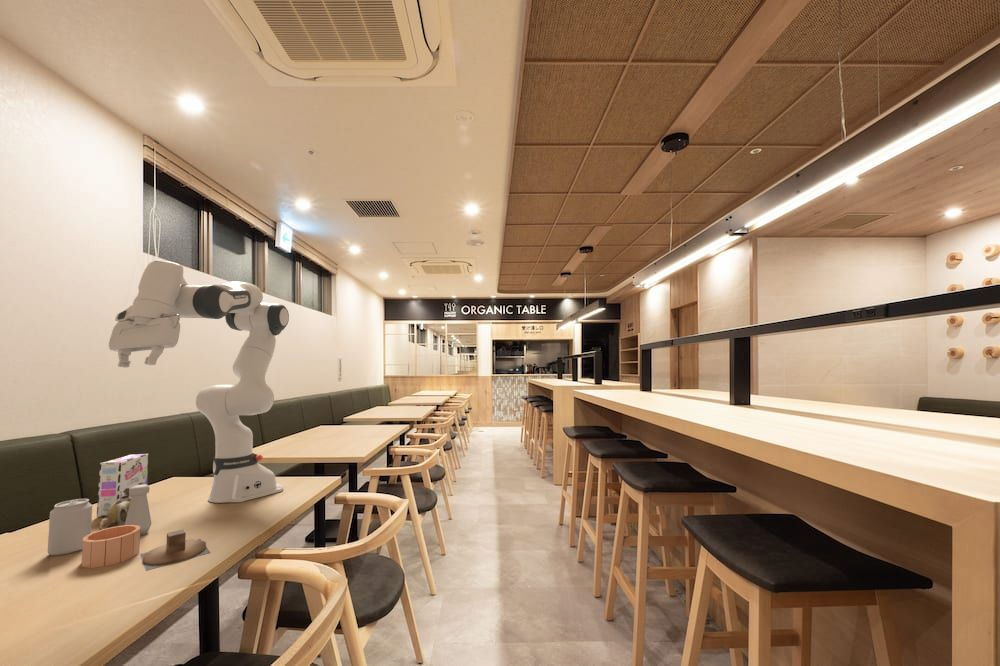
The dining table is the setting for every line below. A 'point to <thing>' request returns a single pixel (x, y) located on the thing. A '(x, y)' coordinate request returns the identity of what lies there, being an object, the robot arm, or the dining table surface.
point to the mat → (149, 567)
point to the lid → (174, 549)
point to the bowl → (110, 546)
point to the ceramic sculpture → (116, 513)
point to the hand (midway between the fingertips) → (136, 366)
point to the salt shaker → (139, 508)
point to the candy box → (120, 479)
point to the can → (69, 526)
